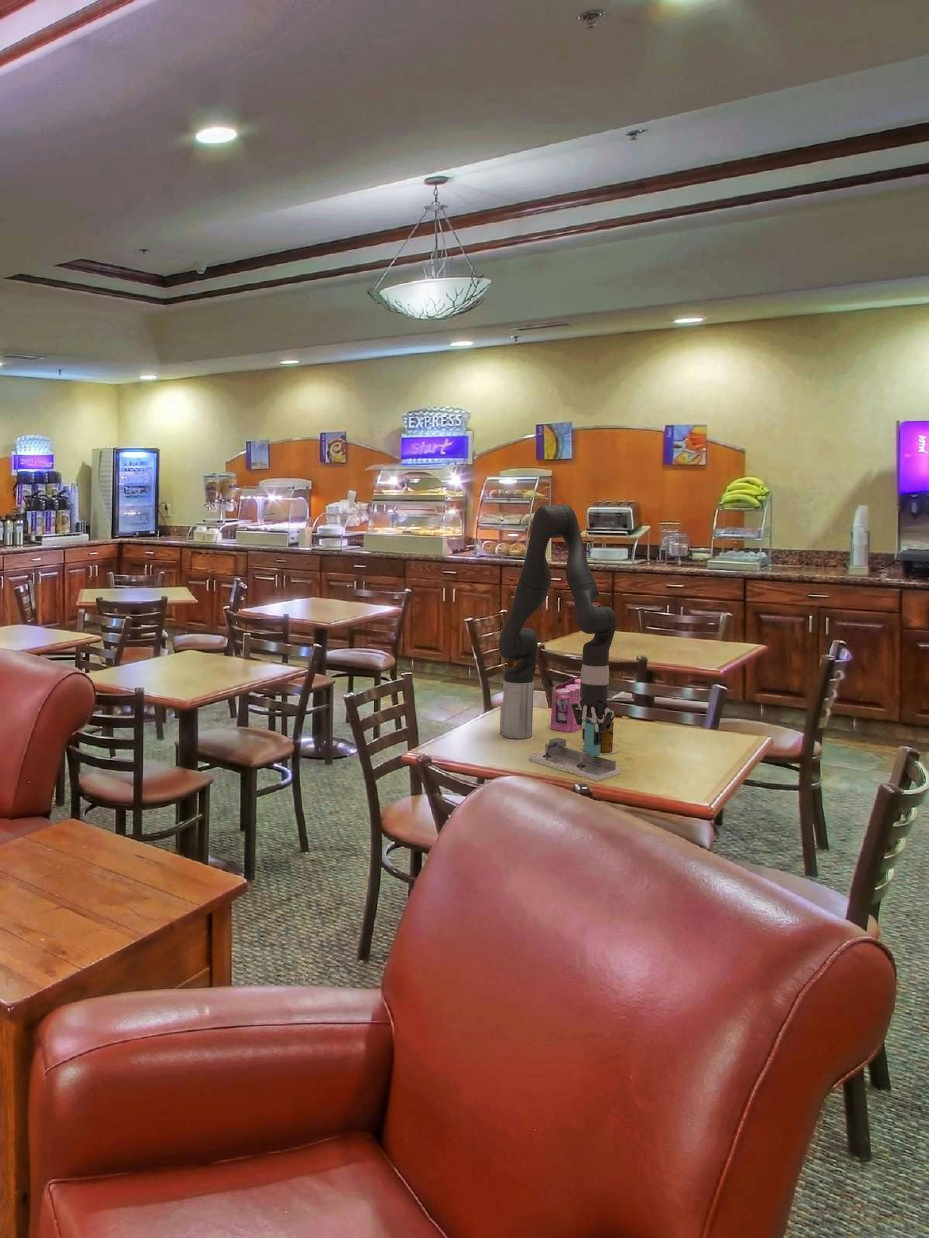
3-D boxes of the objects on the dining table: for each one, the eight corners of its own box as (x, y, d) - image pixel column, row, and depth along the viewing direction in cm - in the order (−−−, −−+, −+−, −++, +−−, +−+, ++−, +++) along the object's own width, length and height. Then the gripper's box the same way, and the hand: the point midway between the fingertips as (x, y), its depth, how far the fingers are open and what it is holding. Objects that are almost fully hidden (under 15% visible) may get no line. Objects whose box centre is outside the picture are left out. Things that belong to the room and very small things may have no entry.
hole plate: (528, 760, 248) (529, 741, 247) (552, 753, 254) (552, 735, 254) (597, 781, 231) (598, 760, 230) (620, 773, 237) (621, 753, 237)
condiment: (618, 752, 258) (620, 711, 256) (596, 756, 253) (598, 715, 252) (601, 745, 264) (603, 706, 262) (580, 749, 259) (581, 709, 258)
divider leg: (575, 763, 239) (577, 725, 237) (590, 759, 244) (592, 721, 242) (584, 766, 237) (585, 727, 235) (599, 761, 241) (601, 723, 240)
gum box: (571, 734, 276) (572, 691, 275) (548, 730, 280) (549, 688, 278) (598, 718, 297) (600, 678, 295) (576, 714, 301) (578, 675, 299)
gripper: (565, 678, 240) (563, 740, 243) (607, 687, 230) (604, 751, 233) (582, 674, 246) (580, 735, 248) (624, 683, 236) (621, 746, 238)
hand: (592, 742), depth 240 cm, fingers closed on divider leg, 3 cm apart
